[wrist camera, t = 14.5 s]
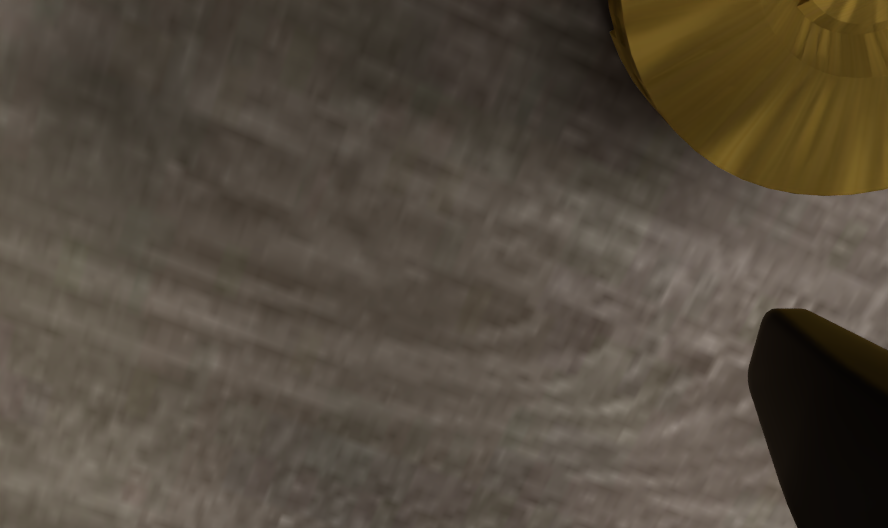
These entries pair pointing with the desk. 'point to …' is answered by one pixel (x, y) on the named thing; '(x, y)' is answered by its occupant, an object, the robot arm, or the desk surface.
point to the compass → (768, 85)
